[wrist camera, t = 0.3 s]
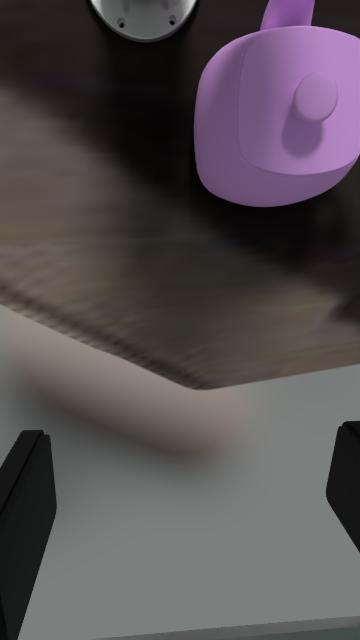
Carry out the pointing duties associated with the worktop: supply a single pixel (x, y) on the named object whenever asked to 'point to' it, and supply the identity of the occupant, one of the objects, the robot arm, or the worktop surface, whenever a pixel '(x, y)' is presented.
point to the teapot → (279, 110)
